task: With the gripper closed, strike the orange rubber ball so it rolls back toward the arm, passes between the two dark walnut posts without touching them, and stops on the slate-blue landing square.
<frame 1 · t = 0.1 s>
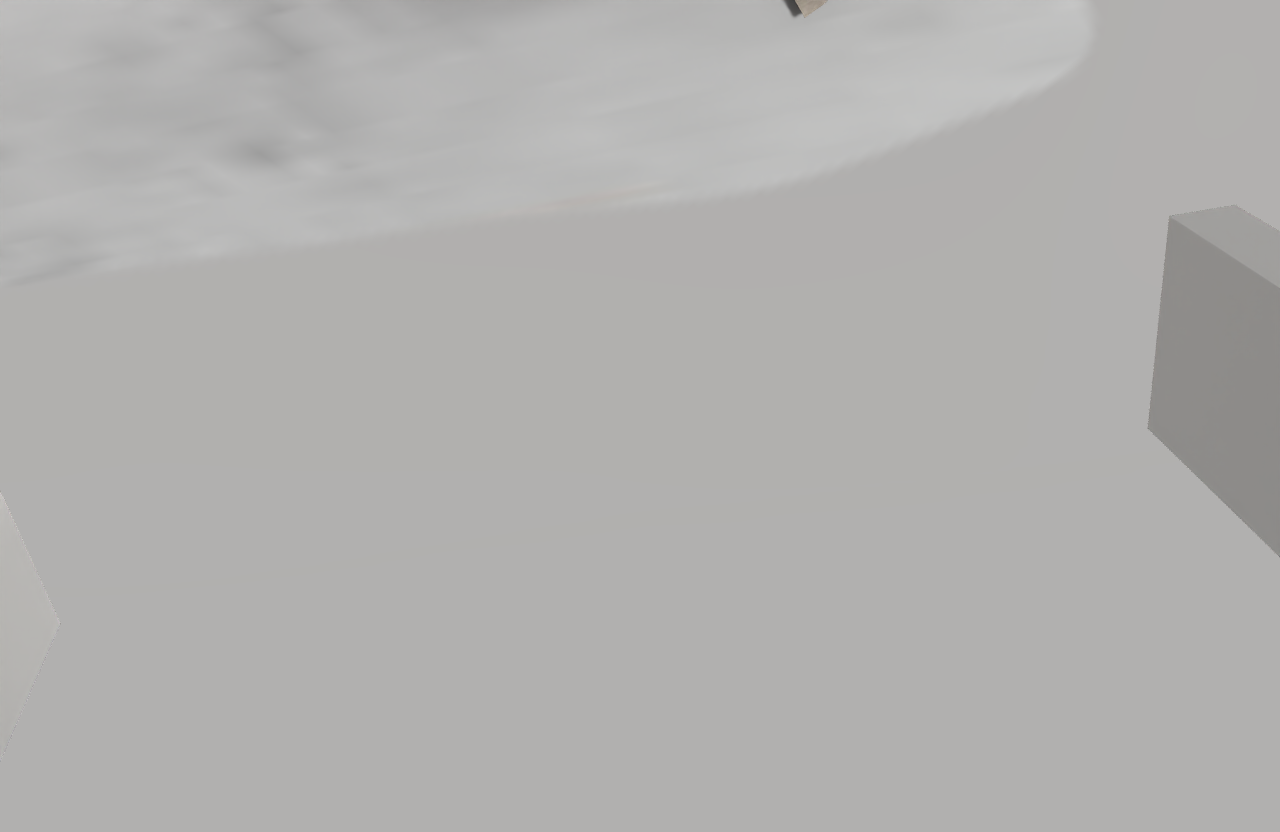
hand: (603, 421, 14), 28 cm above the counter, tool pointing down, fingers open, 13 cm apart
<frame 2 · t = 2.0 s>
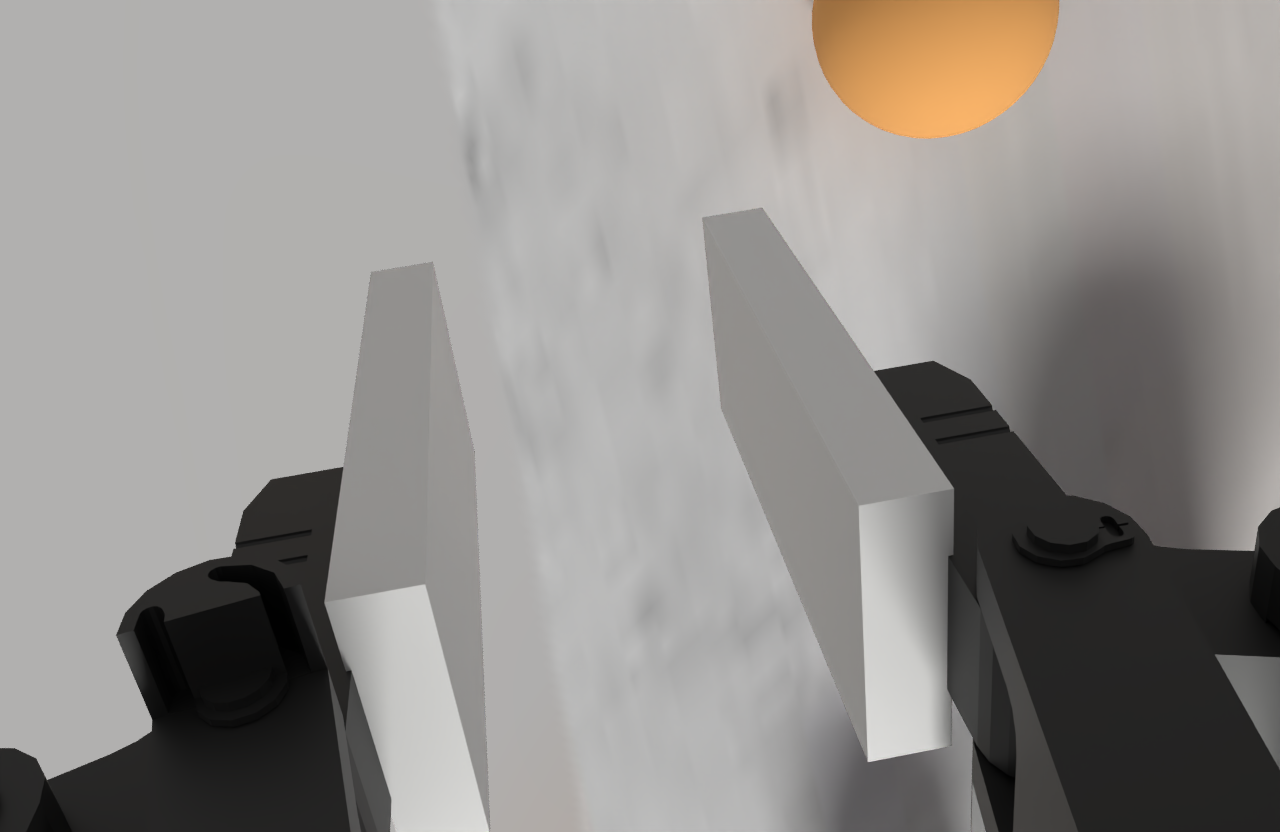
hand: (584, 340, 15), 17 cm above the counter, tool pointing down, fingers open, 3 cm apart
ball: (932, 15, 28), on the counter
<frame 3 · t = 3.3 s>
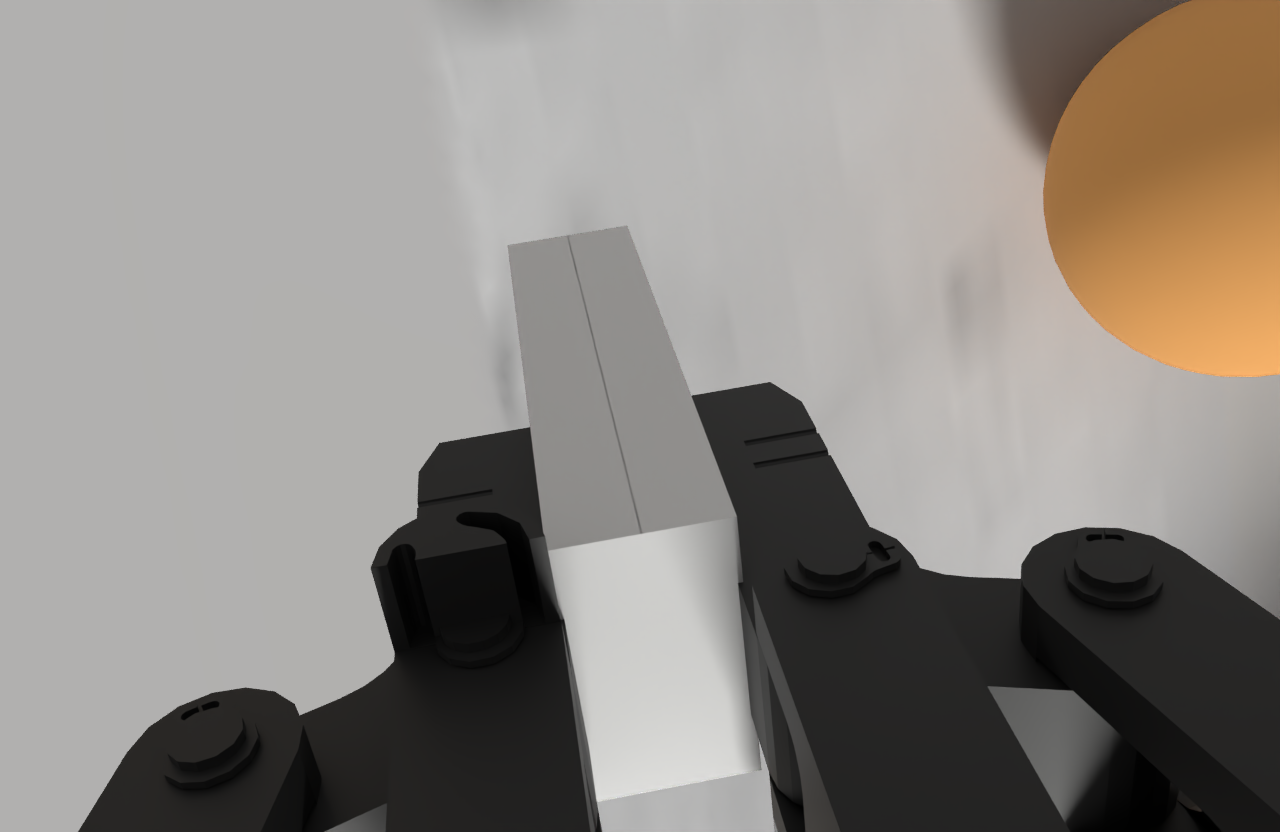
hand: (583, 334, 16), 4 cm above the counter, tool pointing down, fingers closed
ball: (1244, 186, 18), on the counter
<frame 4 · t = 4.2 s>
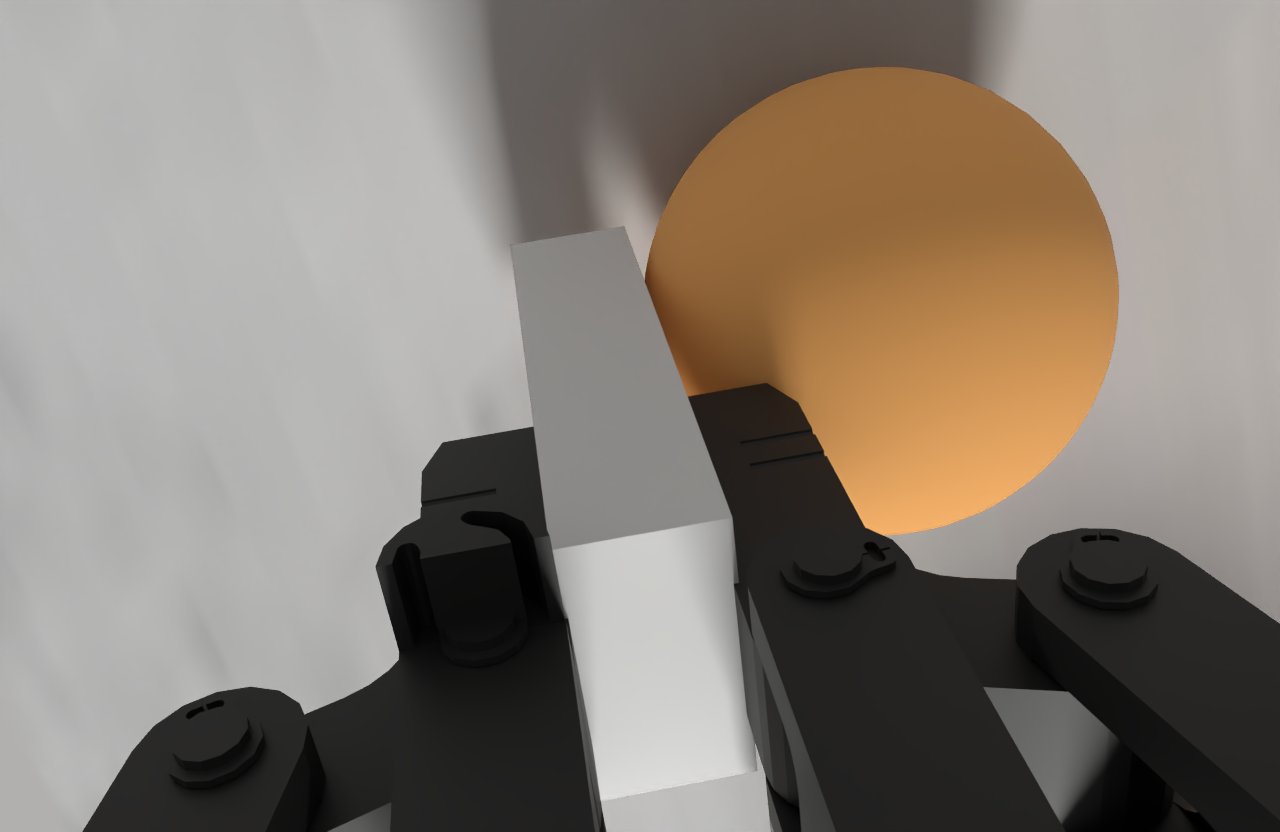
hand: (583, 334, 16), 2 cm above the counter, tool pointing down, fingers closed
ball: (872, 305, 15), on the counter, touching gripper
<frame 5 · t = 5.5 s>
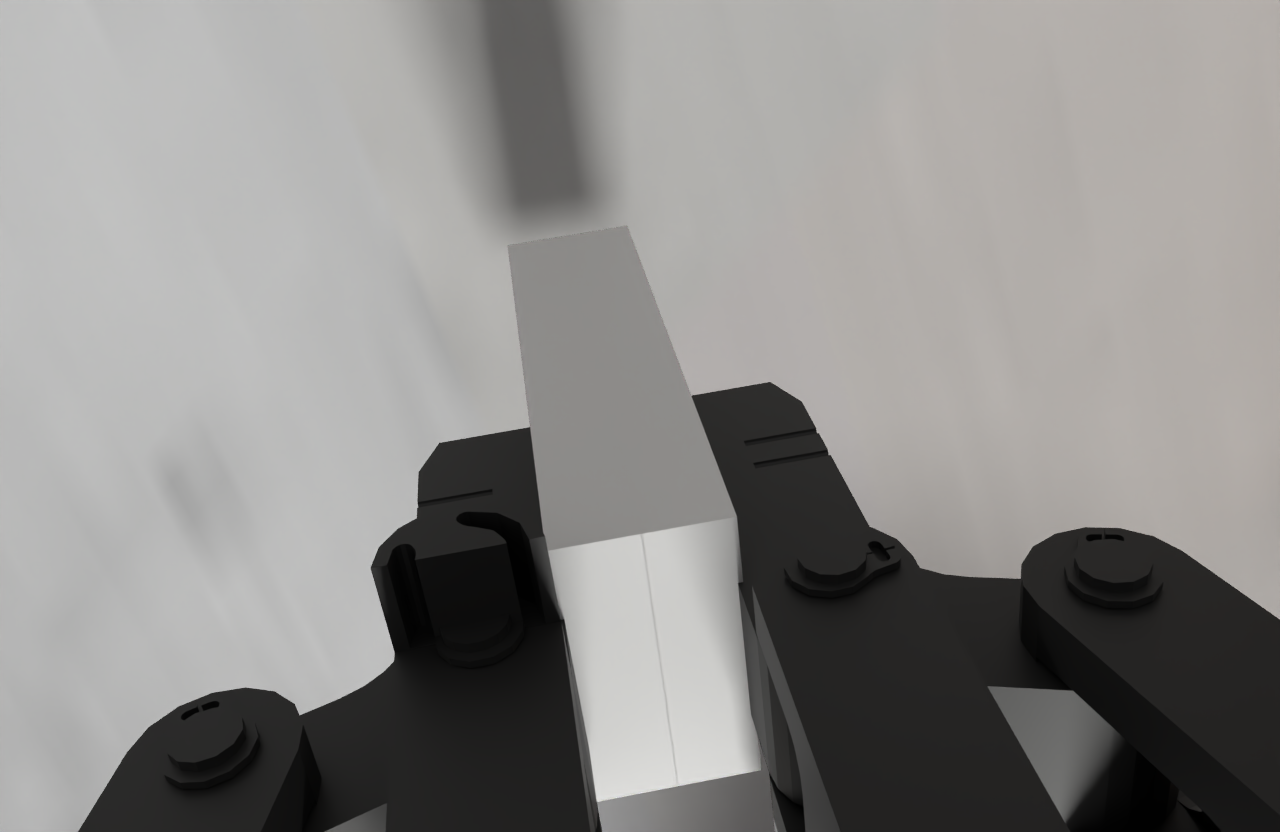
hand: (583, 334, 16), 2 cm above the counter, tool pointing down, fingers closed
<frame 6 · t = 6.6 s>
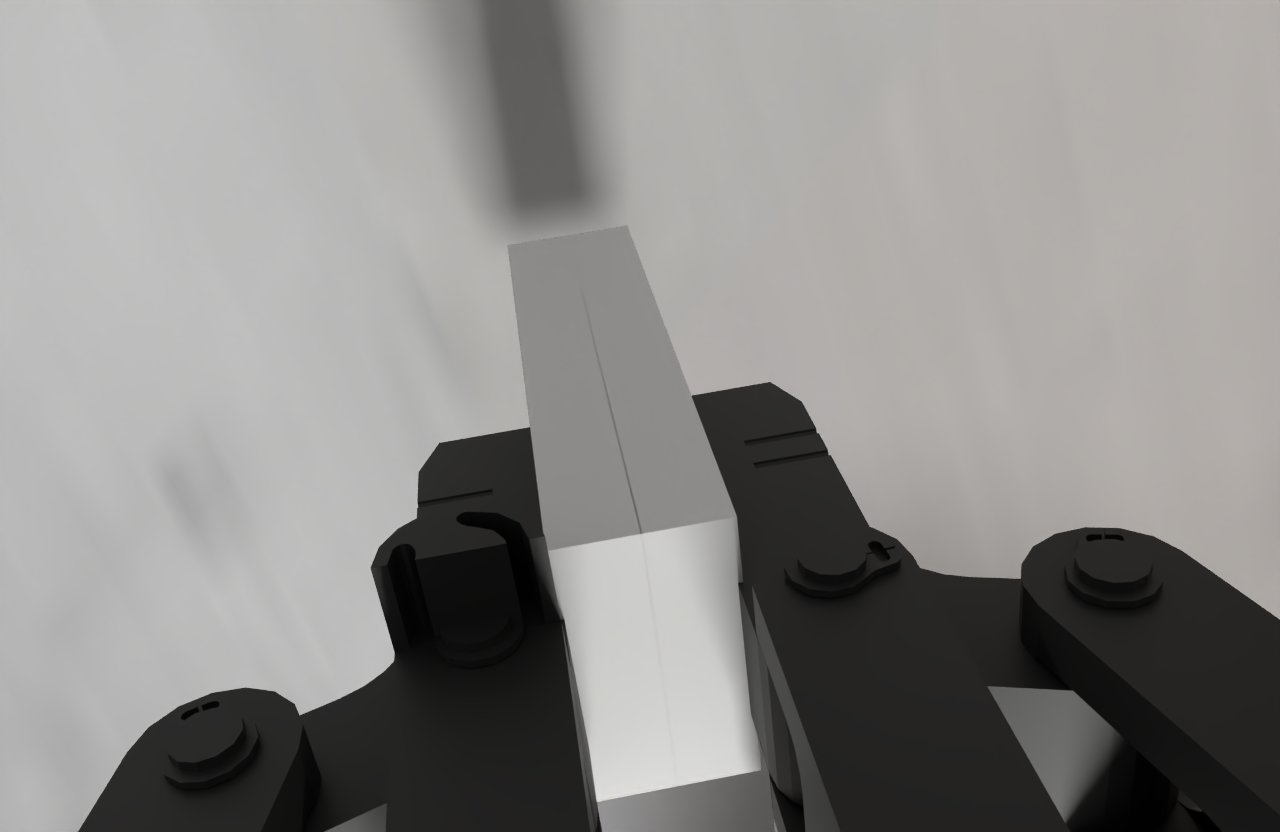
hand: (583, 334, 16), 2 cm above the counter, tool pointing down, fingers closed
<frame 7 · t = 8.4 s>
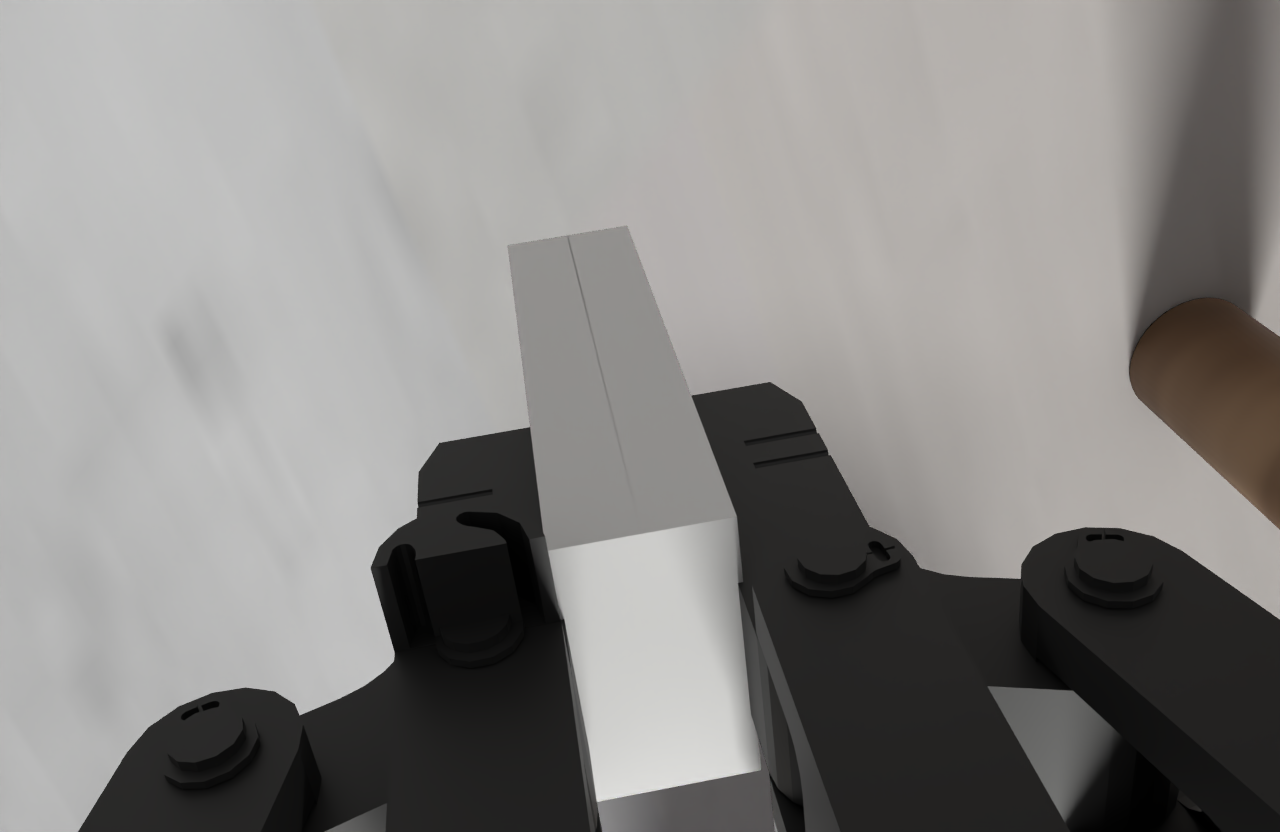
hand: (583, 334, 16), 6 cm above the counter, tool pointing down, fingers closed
post 2: (1190, 356, 25), on the counter
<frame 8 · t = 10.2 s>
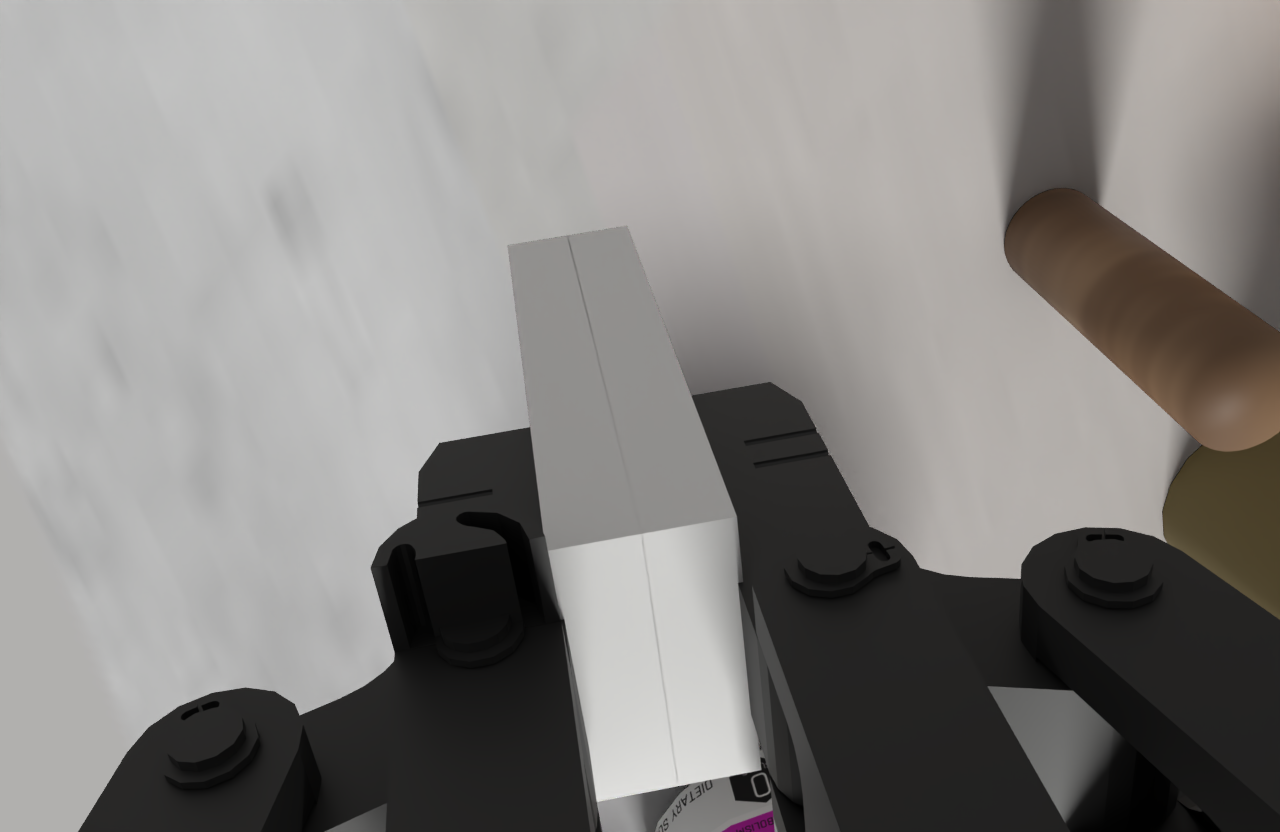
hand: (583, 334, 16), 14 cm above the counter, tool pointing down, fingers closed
supplement can: (765, 819, 41), on the counter
cork: (1253, 491, 37), on the counter
post 2: (1052, 236, 32), on the counter
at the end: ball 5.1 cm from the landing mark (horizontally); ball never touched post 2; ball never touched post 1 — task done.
